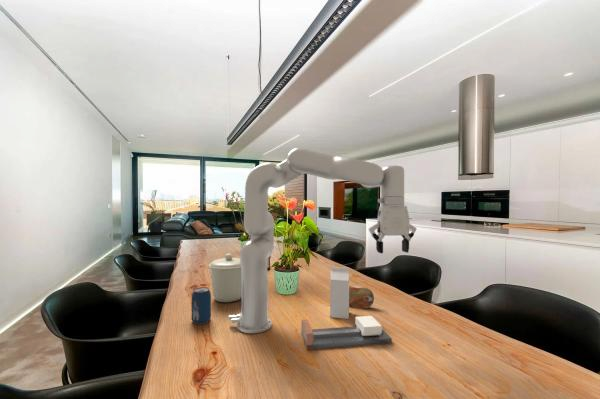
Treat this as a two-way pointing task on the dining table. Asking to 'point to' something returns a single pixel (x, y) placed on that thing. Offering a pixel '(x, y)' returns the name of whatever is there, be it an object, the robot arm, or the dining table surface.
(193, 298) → the soda can
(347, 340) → the rail
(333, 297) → the milk carton
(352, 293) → the tin
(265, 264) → the robot arm
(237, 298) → the canister
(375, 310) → the dining table surface
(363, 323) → the slider
